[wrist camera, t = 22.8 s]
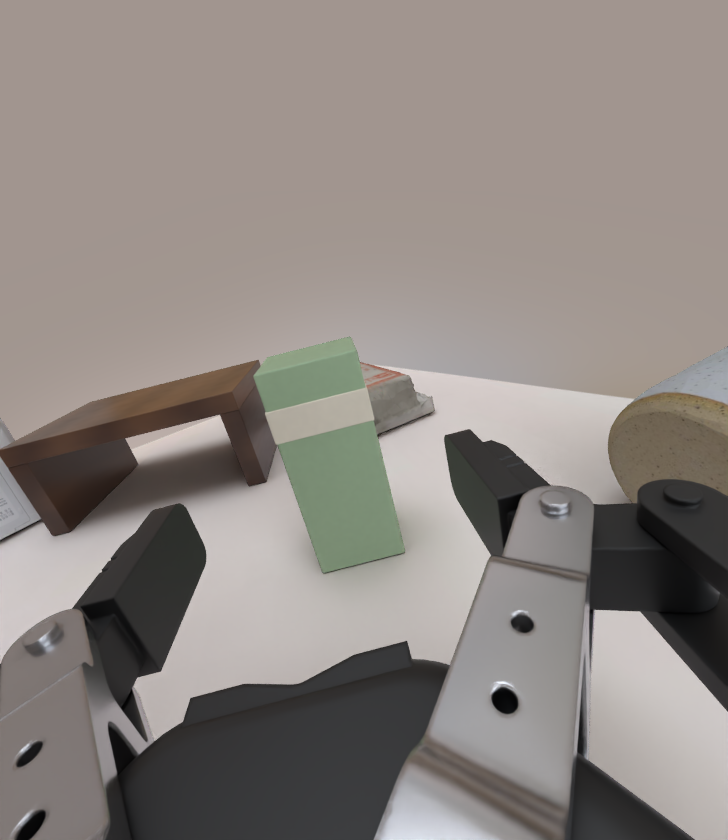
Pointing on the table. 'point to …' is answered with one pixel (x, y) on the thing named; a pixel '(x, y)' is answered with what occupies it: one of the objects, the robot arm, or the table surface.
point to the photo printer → (12, 496)
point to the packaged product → (393, 397)
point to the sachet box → (331, 452)
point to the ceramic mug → (675, 430)
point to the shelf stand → (125, 417)
